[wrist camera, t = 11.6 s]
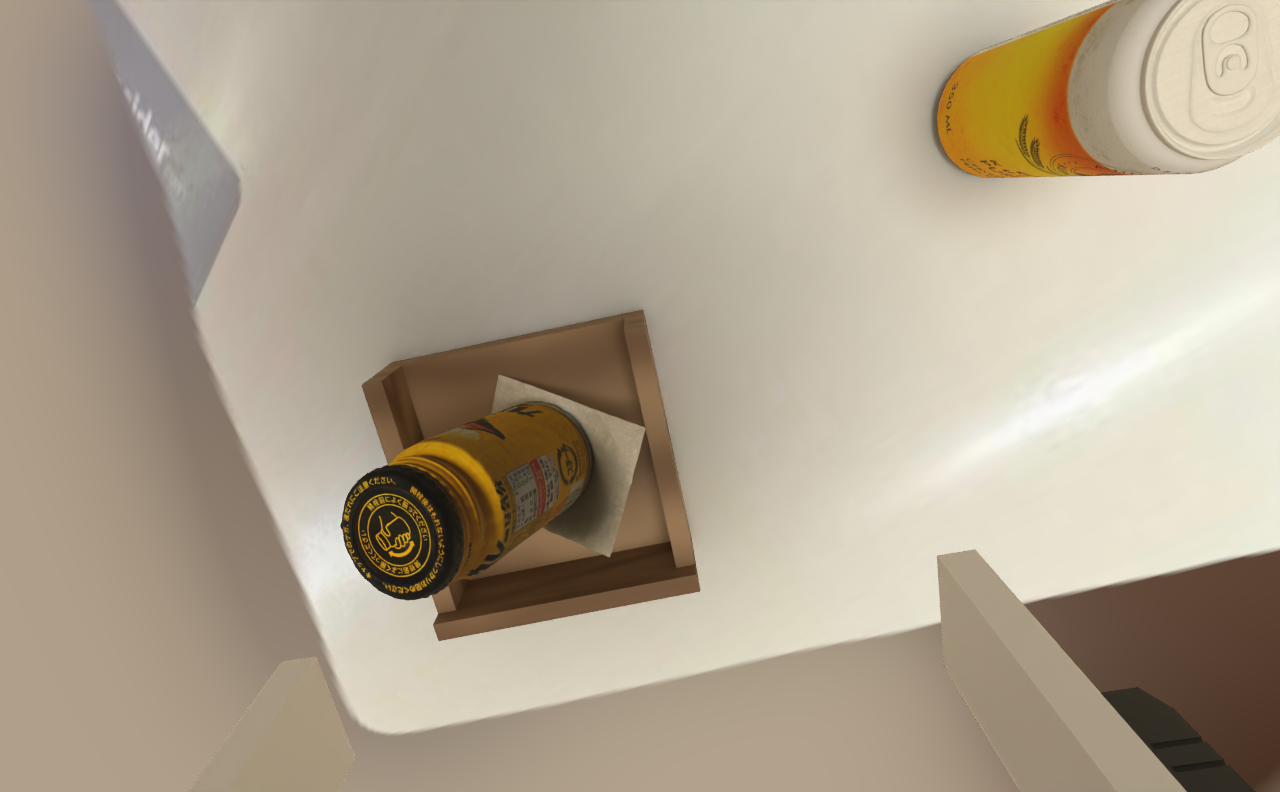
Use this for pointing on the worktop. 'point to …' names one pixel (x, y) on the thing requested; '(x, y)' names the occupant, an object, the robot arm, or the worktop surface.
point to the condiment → (491, 491)
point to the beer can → (1120, 92)
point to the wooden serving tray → (545, 562)
